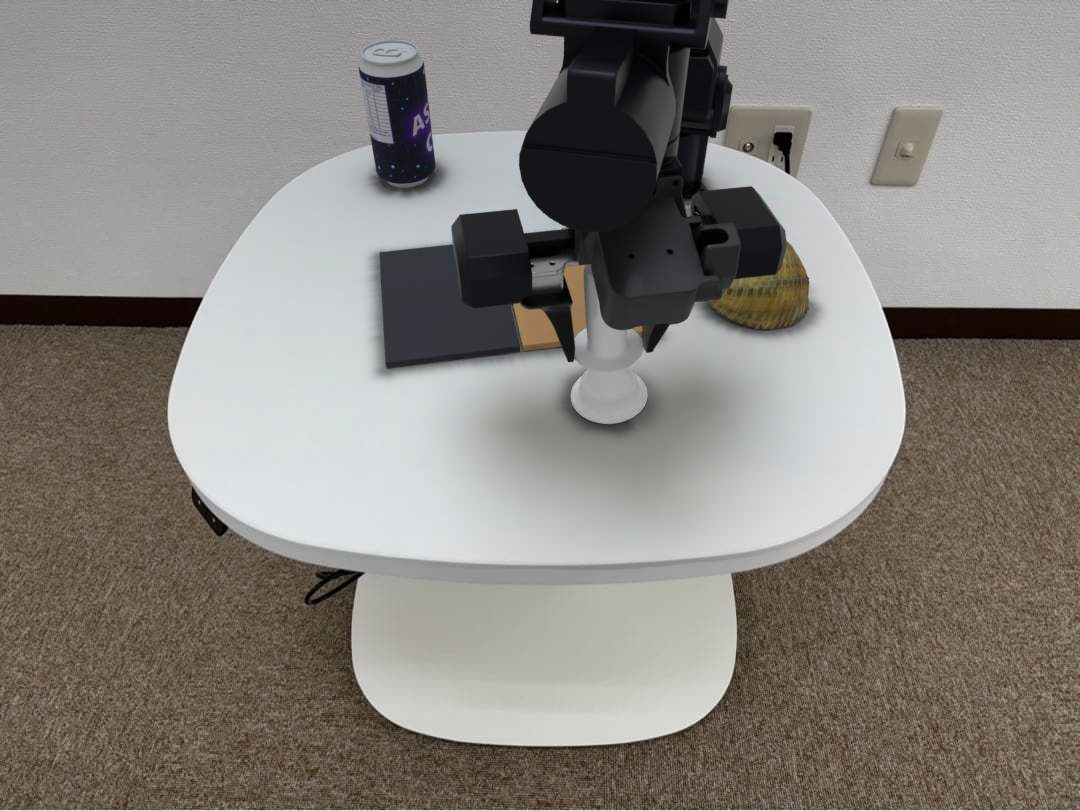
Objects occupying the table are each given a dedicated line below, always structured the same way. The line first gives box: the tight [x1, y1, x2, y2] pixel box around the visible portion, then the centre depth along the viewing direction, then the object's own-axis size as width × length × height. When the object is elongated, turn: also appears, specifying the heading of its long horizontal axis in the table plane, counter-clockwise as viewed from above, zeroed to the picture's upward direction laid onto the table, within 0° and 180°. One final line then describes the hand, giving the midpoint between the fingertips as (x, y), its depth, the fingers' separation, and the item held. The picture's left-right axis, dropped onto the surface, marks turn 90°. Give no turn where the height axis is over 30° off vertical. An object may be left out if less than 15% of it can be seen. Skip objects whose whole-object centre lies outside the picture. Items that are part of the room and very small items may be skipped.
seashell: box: [707, 239, 810, 331], centre depth 62 cm, size 10×7×8 cm
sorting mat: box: [379, 243, 642, 369], centre depth 64 cm, size 20×14×1 cm
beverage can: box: [358, 39, 437, 189], centre depth 73 cm, size 6×6×12 cm
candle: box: [570, 264, 649, 425], centre depth 51 cm, size 5×5×12 cm
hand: (608, 353), depth 52 cm, fingers open, 5 cm apart
